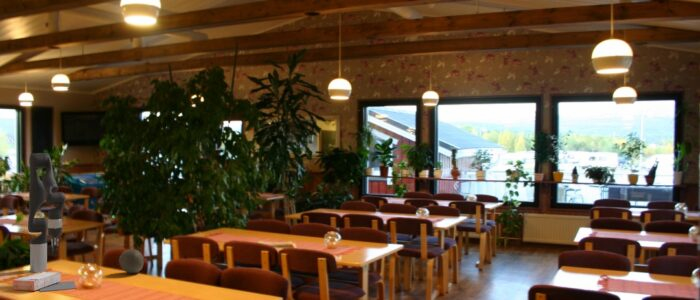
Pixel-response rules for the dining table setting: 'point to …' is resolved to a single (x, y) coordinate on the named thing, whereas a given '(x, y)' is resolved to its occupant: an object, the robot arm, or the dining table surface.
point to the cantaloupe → (131, 261)
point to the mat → (59, 286)
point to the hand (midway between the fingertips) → (54, 255)
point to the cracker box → (36, 280)
